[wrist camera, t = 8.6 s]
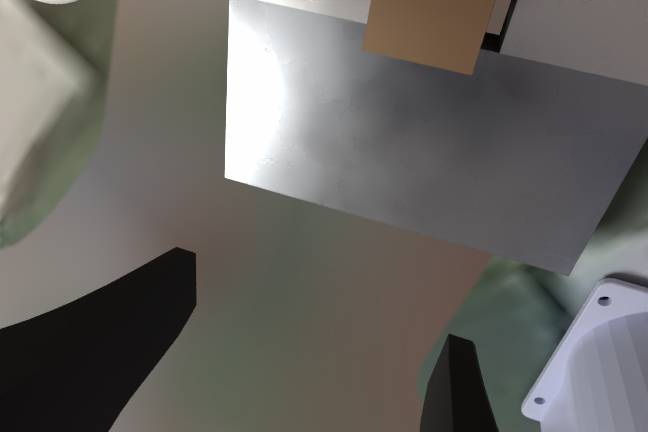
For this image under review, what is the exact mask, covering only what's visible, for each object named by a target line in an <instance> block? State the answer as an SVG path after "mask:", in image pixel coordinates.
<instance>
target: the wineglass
mask: <svg viewBox="0 0 648 432" xmlns="http://www.w3.org/2000/svg"><path fill="white" fill-rule="evenodd" d="M36 1H40V2H44V3H50V4H66V3H71V2H75V1H78V0H36Z"/></svg>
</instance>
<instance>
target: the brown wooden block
mask: <svg viewBox="0 0 648 432" xmlns="http://www.w3.org/2000/svg"><path fill="white" fill-rule="evenodd" d="M494 3H495V0H371V3H370V8H369V14H368V19H367V25H366V30H365V36H364V41H363V47H362V50H363V51H368V52H372V53H376V54H381V55H385V56H389V57H394V58H398V59H402V60H407V61H411V62H415V63H420V64H424V65H428V66H433V67H437V68H441V69H446V70H450V71H454V72H459V73H463V74H468V75H472V73H473V70H474V66H475V63H476V60H477V57H478V54H479V51H480V47H481V44H482V41H483V38H484V35H485V32H486V29H487V25H488V22H489V19H490V16H491V13H492V10H493V6H494Z"/></svg>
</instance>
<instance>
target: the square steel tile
mask: <svg viewBox="0 0 648 432" xmlns="http://www.w3.org/2000/svg"><path fill="white" fill-rule="evenodd" d="M370 3H371V0H230V5H229V6H230V7H229V43H228V45H229V46H228V82H227V121H226V157H225V160H226V161H225V178H229V179H232V180H236V181H239V182H243V183H246V184H250V185H253V186H256V187H260V188H263V189H267V190H271V191H274V192H277V193H281V194H285V195H288V196H291V197H295V198H298V199H302V200H305V201H309V202H312V203H316V204H319V205H323V206H326V207H330V208H333V209H337V210H340V211H344V212H347V213H351V214H354V215H358V216H361V217H365V218H368V219H371V220H375V221H378V222H382V223H385V224H389V225H392V226H396V227H399V228H403V229H407V230H410V231H413V232H417V233H421V234H424V235H427V236H431V237H434V238H437V239H441V240H445V241H448V242H451V243H455V244H458V245H462V246H465V247H469V248H472V249H476V250H479V251H483V252H486V253H490V254H493V255H497V256H500V257H504V258H507V259H511V260H514V261H517V262H521V263H524V264H528V265H531V266H535V267H538V268H542V269H545V270H549V271H552V272H556V273H559V274H563V275H566V276H569V275H570V273H571V271H572V269H573V268H574V266H575V264H576V262H577V261H578V259H579V257H580V255H581V253H582V252H583V250H584V248H585V246H586V245H587V243H588V241H589V239H590V238H591V236H592V234H593V232H594V231H595V229H596V227H597V225H598V224H599V222H600V220H601V218H602V217H603V215H604V213H605V211H606V210H607V208H608V206H609V204H610V203H611V201H612V199H613V197H614V196H615V194H616V192H617V190H618V188H619V187H620V185H621V183H622V181H623V180H624V178H625V176H626V174H627V173H628V171H629V169H630V167H631V166H632V164H633V162H634V160H635V159H636V157H637V155H638V153H639V152H640V150H641V148H642V146H643V145H644V143H645V141H646V139H647V138H648V0H511V3H510V6H509V9H508V12H507V15H506V18H505V21H504V24H503V27H502V30H501V32H500V35H496V34H491V33H486V32H485V35H484V38H483V41H482V44H481V47H480V51H479V54H478V57H477V60H476V63H475V66H474V70H473V73H472V75H468V74H463V73H459V72H454V71H450V70H446V69H441V68H437V67H433V66H428V65H424V64H420V63H415V62H411V61H407V60H402V59H398V58H394V57H389V56H385V55H381V54H376V53H372V52H368V51H363V50H362V47H363V41H364V36H365V30H366V25H367V19H368V14H369V8H370Z"/></svg>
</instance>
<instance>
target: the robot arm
mask: <svg viewBox="0 0 648 432" xmlns="http://www.w3.org/2000/svg"><path fill="white" fill-rule="evenodd" d="M603 296H606V297H609V298H608V299H606V300H600V299H599V298H600V297H603ZM195 306H196V253H193V252H191V251H187V250H184V249H181V248H178V247H175V248H174V249H172V250H170V251H168V252H166V253H164V254H162V255H161V256H159V257H157V258H155V259H153V260H152V261H150V262H148V263H147V264H144V265H143V266H141V267H139V268H137V269H136V270H134V271H132V272H130V273H128V274H126V275H124V276H123V277H121V278H119V279H117V280H115V281H113V282H111V283H110V284H108V285H106V286H104V287H102V288H99V289H97V290H95V291H93V292H91V293H89V294H87V295H85V296H83V297H81V298H79V299H77V300H75V301H73V302H70V303H68V304H66V305H64V306H61V307H59V308H57V309H54V310H52V311H50V312H47V313H44V314H41V315H39V316H36V317H34V318H31V319H29V320H26V321H23V322H20V323H17V324H14V325H11V326H8V327H5V328H2V329H0V432H108V431H109V430H110V428H111V427H112V425H113V423H114V422H115V420H116V419H117V417H118V415H119V414H120V412H121V411H122V409H123V408H124V407H125V405H126V404H127V402H128V401H129V400H130V398H131V397H132V396H133V394H134V393H135V392H136V390H137V389H138V388H139V387H140V385H141V384H142V383H143V381H144V380H145V379H146V378H147V376H148V375H149V374H150V372H151V371H152V370H153V368H154V367H155V366H156V365H157V363H158V362H159V360H160V359H161V358H162V357H163V356H164V354H165V353H166V351H167V350H168V349H169V347H170V346H171V345H172V344H173V342H174V341H175V340H176V338H177V337H178V335H179V334H180V332H181V331H182V329H183V327H184V325H185V324H186V322H187V321H188V319H189V317H190V315H191V314H192V312H193V310H194V308H195ZM538 397H540V398H538ZM521 407H522V413H523V414H524V415H525V416H526V417H529V418H531V419H534V420H537V421H540V422H541V432H648V288H646V287H643V286H639V285H636V284H632V283H629V282H625V281H622V280H618V279H614V278H605V279H602V280H600V281H599V282H598V283H597V284H596V285H595V287H594V289H593V290H592V292H591V293H590V295H589V297H588V298H587V300H586V301H585V303H584V305H583V306H582V308H581V309H580V311H579V313H578V314H577V316H576V318H575V319H574V321H573V322H572V324H571V326H570V327H569V329H568V330H567V332H566V334H565V335H564V337H563V339H562V340H561V342H560V343H559V345H558V347H557V348H556V350H555V351H554V353H553V355H552V356H551V358H550V359H549V361H548V363H547V364H546V366H545V368H544V369H543V371H542V372H541V374H540V376H539V377H538V379H537V380H536V382H535V384H534V385H533V387H532V388H531V390H530V392H529V393H528V395H527V397H526V398H525V400H524V401H523V403H522V406H521ZM420 432H499V430H498V427H497V424H496V421H495V418H494V415H493V412H492V409H491V406H490V403H489V400H488V397H487V393H486V390H485V386H484V382H483V379H482V375H481V371H480V367H479V362H478V358H477V353H476V348H475V345H474V343H473V341H470V340H467V339H464V338H461V337H457V336H454V335H451V334H448V337H447V339H446V341H445V344H444V346H443V349H442V351H441V353H440V356H439V358H438V361H437V363H436V365H435V368H434V370H433V372H432V375H431V377H430V380H429V382H428V386H427V391H426V396H425V401H424V406H423V411H422V416H421V424H420Z"/></svg>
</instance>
